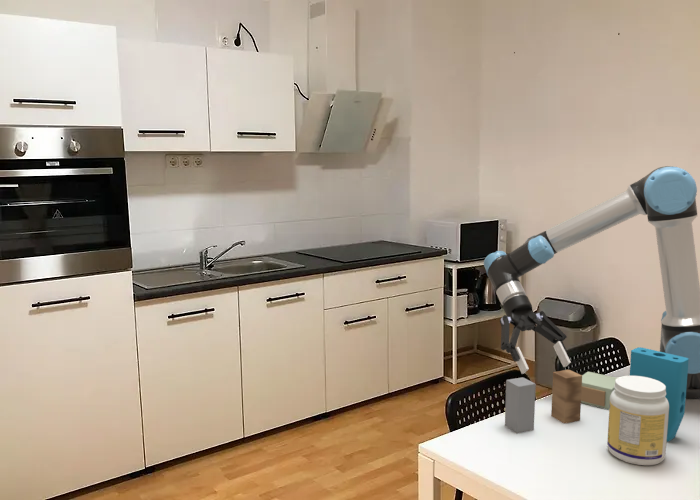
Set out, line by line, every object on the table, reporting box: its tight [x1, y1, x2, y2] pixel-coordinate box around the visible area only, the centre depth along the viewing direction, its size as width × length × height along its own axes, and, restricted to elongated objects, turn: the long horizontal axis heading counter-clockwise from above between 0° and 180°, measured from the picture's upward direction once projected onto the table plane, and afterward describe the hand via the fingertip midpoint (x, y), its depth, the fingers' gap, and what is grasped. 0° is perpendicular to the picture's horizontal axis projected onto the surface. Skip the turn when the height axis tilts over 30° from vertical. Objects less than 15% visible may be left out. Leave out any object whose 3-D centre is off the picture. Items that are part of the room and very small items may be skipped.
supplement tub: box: [606, 375, 669, 466], centre depth 141 cm, size 12×12×17 cm
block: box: [629, 347, 689, 443], centre depth 152 cm, size 12×5×20 cm, turn 40°
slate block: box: [504, 377, 537, 434], centre depth 156 cm, size 5×5×12 cm
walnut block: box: [550, 369, 583, 425], centre depth 162 cm, size 5×5×12 cm
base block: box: [581, 371, 618, 411], centre depth 174 cm, size 10×10×6 cm
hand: (546, 368), depth 167 cm, fingers open, 13 cm apart
